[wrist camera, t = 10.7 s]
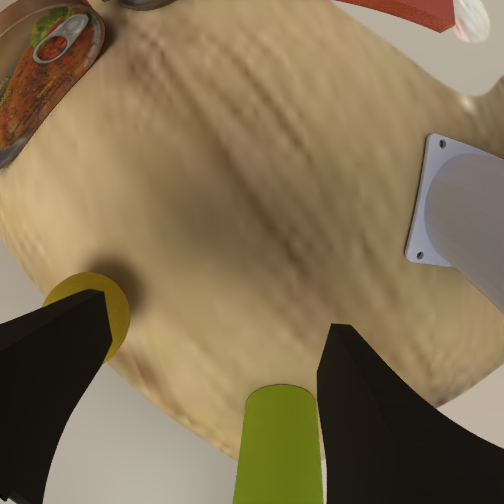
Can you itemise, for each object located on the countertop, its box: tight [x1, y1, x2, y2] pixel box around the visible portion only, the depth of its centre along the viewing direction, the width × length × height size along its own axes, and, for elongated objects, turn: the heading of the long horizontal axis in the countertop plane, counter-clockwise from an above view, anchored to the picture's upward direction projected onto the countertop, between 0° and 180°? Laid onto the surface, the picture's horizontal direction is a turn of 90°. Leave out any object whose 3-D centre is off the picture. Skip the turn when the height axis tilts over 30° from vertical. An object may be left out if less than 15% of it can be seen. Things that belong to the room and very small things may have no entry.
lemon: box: [41, 272, 130, 364], centre depth 16 cm, size 6×6×8 cm
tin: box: [0, 0, 105, 169], centre depth 11 cm, size 15×3×8 cm, turn 123°
